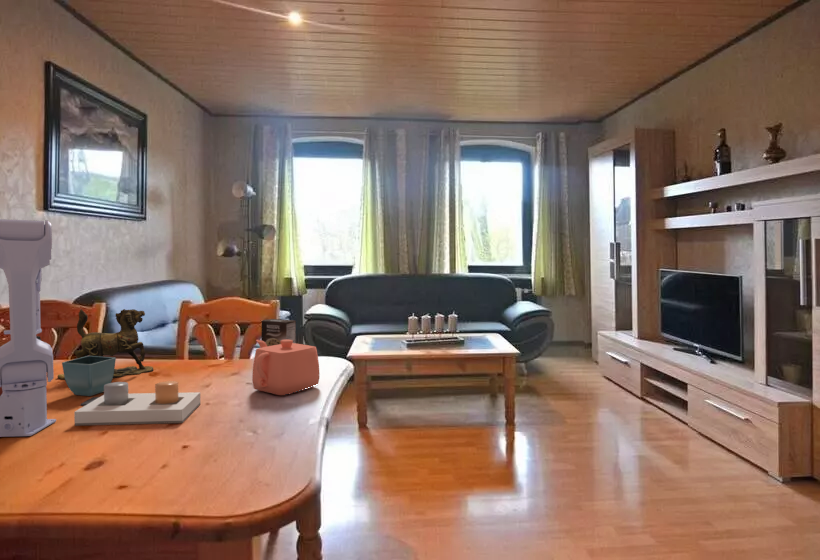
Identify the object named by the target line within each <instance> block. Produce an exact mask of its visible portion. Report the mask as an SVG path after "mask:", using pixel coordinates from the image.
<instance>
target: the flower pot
mask: <svg viewBox="0 0 820 560" xmlns="http://www.w3.org/2000/svg"><path fill="white" fill-rule="evenodd" d="M116 360H117V358H116V357H114V356H103V357H99V356H85V357H82V358H73V359H71V360H66V361H63V362H61V365H62V370H63V371H62V372H63V374H64V377H65V383H66V385H67V387H68V388H69V390H70V391H71V392H72V393H73V395H76V396H88V397H93V396H95V395H97V394H101V393H104V385H105V384H108V383H112V381H113V379H114V378H113V375H114V369H116V368H115V367H116Z"/></svg>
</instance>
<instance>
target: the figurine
mask: <svg viewBox="0 0 820 560" xmlns="http://www.w3.org/2000/svg"><path fill="white" fill-rule="evenodd" d="M145 315H146V313H145V311H144V310H138V309H137V310H136V309H125V308H124V309H121V310H120V312H118V313H117V312H116V313H115V320H116V322H117V323H118V324H119V326H120V331H118V332H114V333H105V332H97V331H96V332H93V331H92V332H89V333H86V332H85V331H84V326H85V324H86V323H87V321H88V319H89V316H88V314H87V313H86V312H85V311H84V310H83V309H81V308H80V309H79V312H78V321H77V324H76V331H77V333H78V334H79V336H81V341H80V344H81V349H80V350H74V351H73V352H74V355H75V356H76V359H78V358H82V357H86V356H99V357H104V356H109V357H114V356H115V355H116V354H118V353H119V354H122V353H123V354H124V353H125V354H126V353H127V354H129V355H130V356H131V357H132V358H133V359H134V360H135V363H136V364H137V365H138V367H137V366H135V365H131V366H130V365H129V366H126V367H122V368H115V369H114V375H113V379H119V378H122V377H124V376H136V375H141V374H143V373H144V374H146V373H152V372H153V371H154V367H153V366H151V365H150V366H149V365H144V364H143V363H142V362H144V361H145V357H146V356H145V355H146V350H145V346H144V342H143V341H139V333H138V332H137V328H136V327H135V326H136V325H137V324H138V323H140V324H141V323H142V321H143V318H142V317H144V316H145ZM137 349H139V350H140V356H139V357H138V355H137V353H136V352H135V350H137ZM57 379H58V380H65V377H64V373H63V374H62V373H61V374H60V373H59V374H58V375H57Z"/></svg>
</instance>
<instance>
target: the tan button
mask: <svg viewBox="0 0 820 560" xmlns="http://www.w3.org/2000/svg"><path fill="white" fill-rule="evenodd" d="M154 388H155V389H154V390H155V392H154V393H155V402H156V403H158V404H169V403H174V402H177V401H178V393H179V382H178V381H174V380H173V381H172V380H171V381H170V380H169V381H168V380H167V381H160V382H157V383H155V385H154Z"/></svg>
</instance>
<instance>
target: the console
mask: <svg viewBox="0 0 820 560" xmlns="http://www.w3.org/2000/svg"><path fill="white" fill-rule="evenodd" d="M98 397H99V398H97V399H96V400H94V401H92V402H90V403H89V404H87V405H84V406H82V407H80V408H78V409H76V410H75V411H74V414H73V415H74V426H75V427H76V426H106V425H107V426H108V425H110V426H111V425H112V426H113V425H120V426H121V425H152V424H153V425H154V424H155V425H158V424H183V423H184V422H185V421H186V420H187V419H188V418H189V417H190V416H191V415H192V414H193V413H194V412H195V411H196V410H197V408H198V407H199V406H200V405H201V392H200V391H199V392H192V391H191V392H178V401H177V402H174V403H169V404H158V403H156V402H155V392H151V393H150V392H146V393H145V392H144V393H143V392H140V393H138V392H136V393H128V402H126V403H123V404H117V405H106V404H104V394H103V395H101V396H98ZM194 410H195V411H194ZM193 411H194V412H193Z"/></svg>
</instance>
